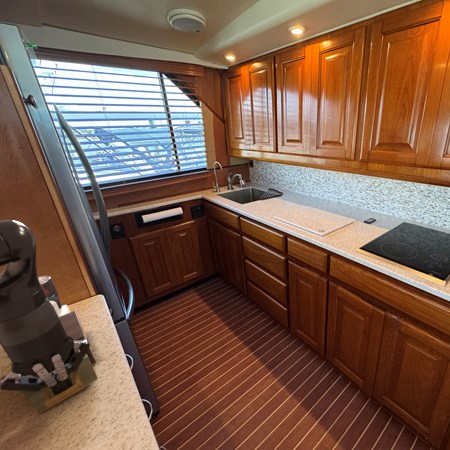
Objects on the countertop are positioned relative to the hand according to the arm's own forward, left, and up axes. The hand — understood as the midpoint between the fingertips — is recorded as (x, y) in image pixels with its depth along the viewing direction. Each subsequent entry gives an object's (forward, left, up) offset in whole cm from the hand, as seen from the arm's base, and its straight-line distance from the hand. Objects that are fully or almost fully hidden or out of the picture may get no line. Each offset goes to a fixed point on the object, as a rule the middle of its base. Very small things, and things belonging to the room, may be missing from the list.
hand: (65, 391), depth 50 cm
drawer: (-5, +4, -4) cm, 7 cm away
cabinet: (-13, +11, -4) cm, 17 cm away
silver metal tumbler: (-29, +24, -5) cm, 38 cm away
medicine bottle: (-22, +19, -5) cm, 30 cm away
